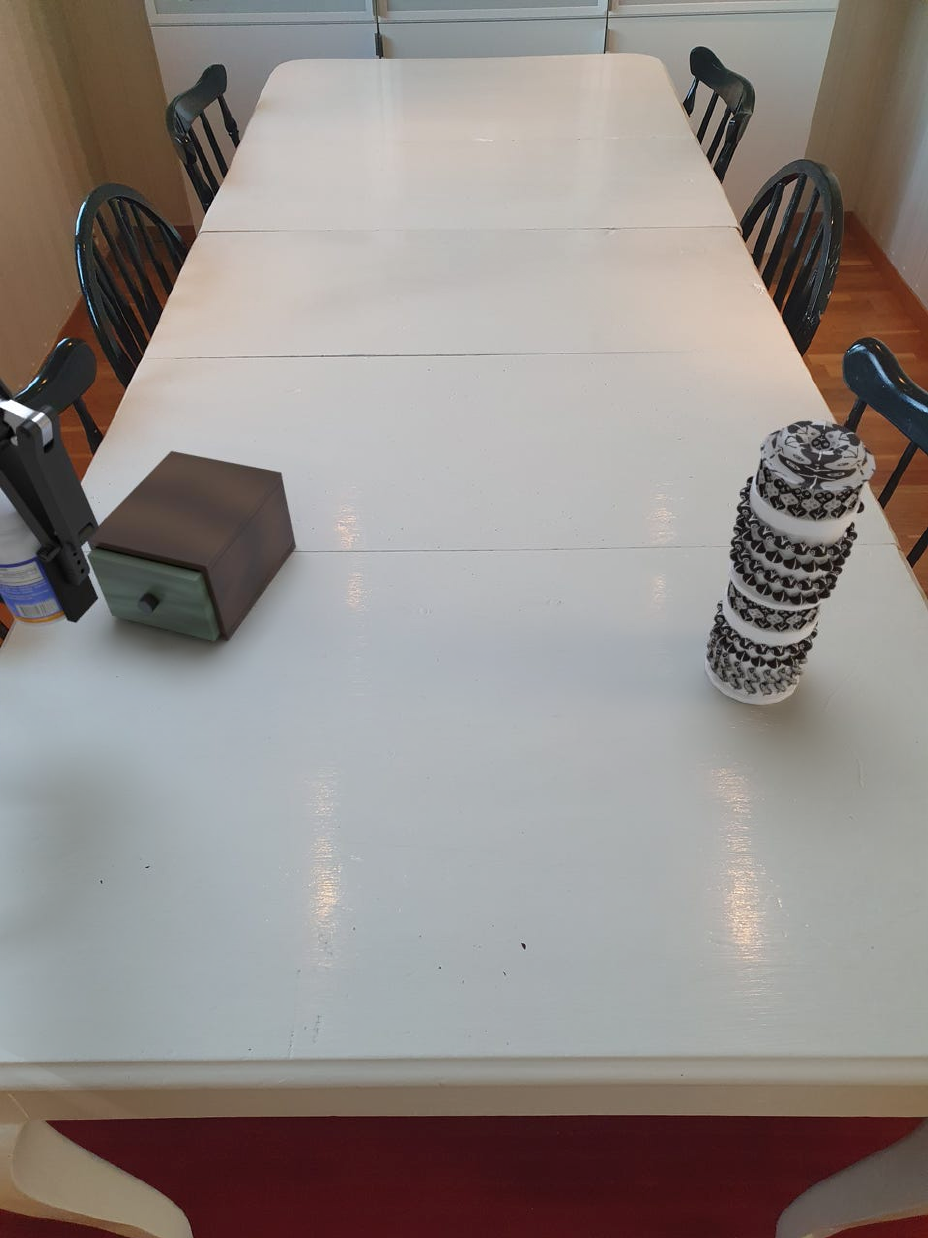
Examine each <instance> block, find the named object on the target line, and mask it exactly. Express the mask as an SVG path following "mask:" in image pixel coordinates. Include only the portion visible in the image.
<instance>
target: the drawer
mask: <svg viewBox="0 0 928 1238" xmlns="http://www.w3.org/2000/svg"><path fill="white" fill-rule="evenodd" d="M86 557H87V560H88V563H89V565H90V567H91V568H92V571H93V573H94V576H95V578H96V582H97V583H98V586H99V587H100V588H99V589H100V591H101V593H102V595H103V597H104V600H105V602H106V604H107V607H108V609H109V612H110V615H111V616H113V617H116V618H120V619H124V620H129V621H131V622H136V623H140V624H143V625H148V626H151V627H152V626H153V627H156V628H159V629H164V630H167V631H172V632H174V633H175V632H176V633H179V634H184V635H187V636H192V637H195V638H200V639H204V640H208V641H210V642H211V641H212V642H216V640H217V639H218V638H217V637H218V636H219V635H220V633H221V632H220V629H219V626H218V623H217V619H216V616H215V613H214V610H213V606H212V603H211V600H210V596H209V593H208V590H207V587H206V583H205V580H204V577H203V573H201V571H199V570H194V569H190V568H186V567H181V566H177V565H173V564H168V563H164V562H160V561H155V560H151V559H147V558H143V557H138V556H134V555H130V554H125V553H121V552H117V551H114V552H111V551H107V550H103V549H98V548H94V549H93V550H92V551H91V550H90V552H89V553H88V554H87V555H86Z"/></svg>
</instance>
